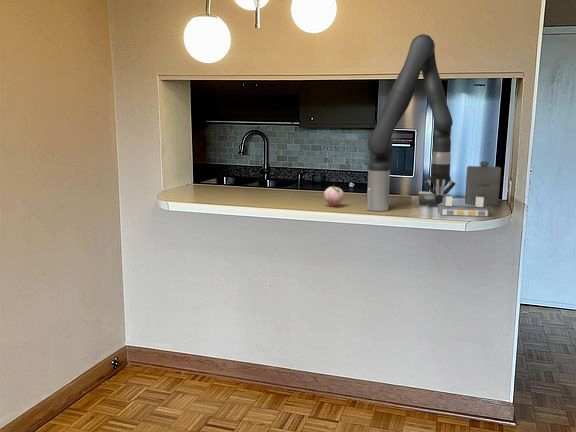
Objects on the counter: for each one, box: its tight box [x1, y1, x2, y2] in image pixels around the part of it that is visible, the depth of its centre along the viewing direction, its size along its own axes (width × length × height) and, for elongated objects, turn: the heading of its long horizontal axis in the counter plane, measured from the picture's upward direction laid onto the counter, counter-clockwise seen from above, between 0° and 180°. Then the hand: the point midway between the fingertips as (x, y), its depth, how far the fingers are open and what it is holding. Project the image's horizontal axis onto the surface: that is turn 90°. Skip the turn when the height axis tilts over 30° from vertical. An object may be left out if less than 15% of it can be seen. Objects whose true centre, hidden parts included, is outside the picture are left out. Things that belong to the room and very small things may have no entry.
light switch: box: [418, 191, 439, 207], centre depth 254 cm, size 8×6×14 cm
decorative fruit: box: [323, 185, 345, 208], centre depth 252 cm, size 9×8×10 cm
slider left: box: [444, 194, 453, 206], centre depth 237 cm, size 2×4×4 cm
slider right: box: [474, 196, 484, 207], centre depth 236 cm, size 2×4×4 cm
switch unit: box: [437, 204, 490, 218], centre depth 237 cm, size 19×10×3 cm, turn 84°
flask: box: [464, 160, 502, 207], centre depth 263 cm, size 15×6×20 cm, turn 77°
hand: (438, 203), depth 238 cm, fingers closed
